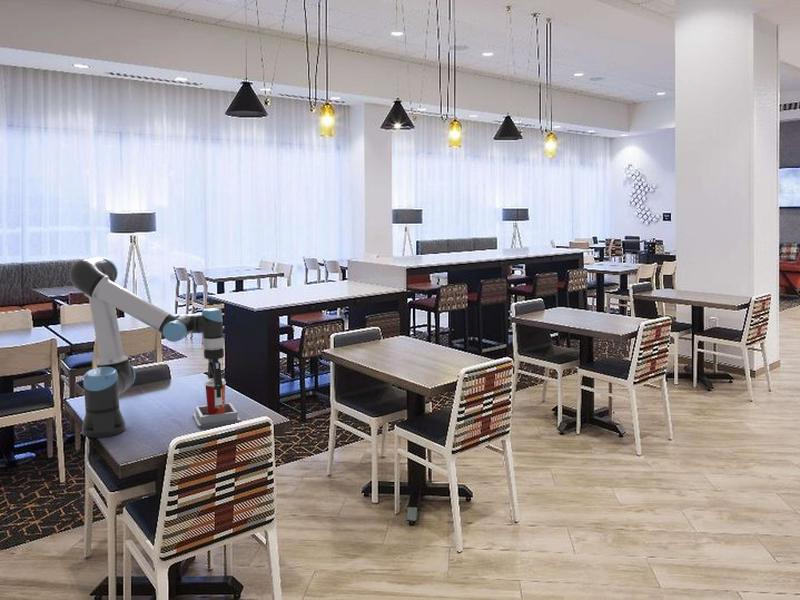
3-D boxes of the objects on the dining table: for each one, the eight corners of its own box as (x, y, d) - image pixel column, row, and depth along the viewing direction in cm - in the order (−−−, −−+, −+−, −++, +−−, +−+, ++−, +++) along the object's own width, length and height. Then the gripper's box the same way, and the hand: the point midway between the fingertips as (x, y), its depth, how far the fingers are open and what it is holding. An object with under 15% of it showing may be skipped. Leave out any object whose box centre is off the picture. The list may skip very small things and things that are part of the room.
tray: (198, 428, 257) (198, 417, 257) (192, 415, 272) (192, 406, 271) (240, 422, 264) (240, 412, 263) (232, 410, 278) (232, 401, 278)
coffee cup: (221, 420, 263) (220, 383, 261) (201, 419, 264) (200, 382, 262) (230, 414, 271) (229, 377, 269) (211, 412, 272) (210, 376, 270)
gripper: (229, 353, 254) (231, 407, 257) (217, 341, 276) (219, 391, 279) (208, 355, 251) (211, 410, 254) (199, 342, 273) (201, 393, 276)
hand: (215, 400), depth 267 cm, fingers open, 13 cm apart
